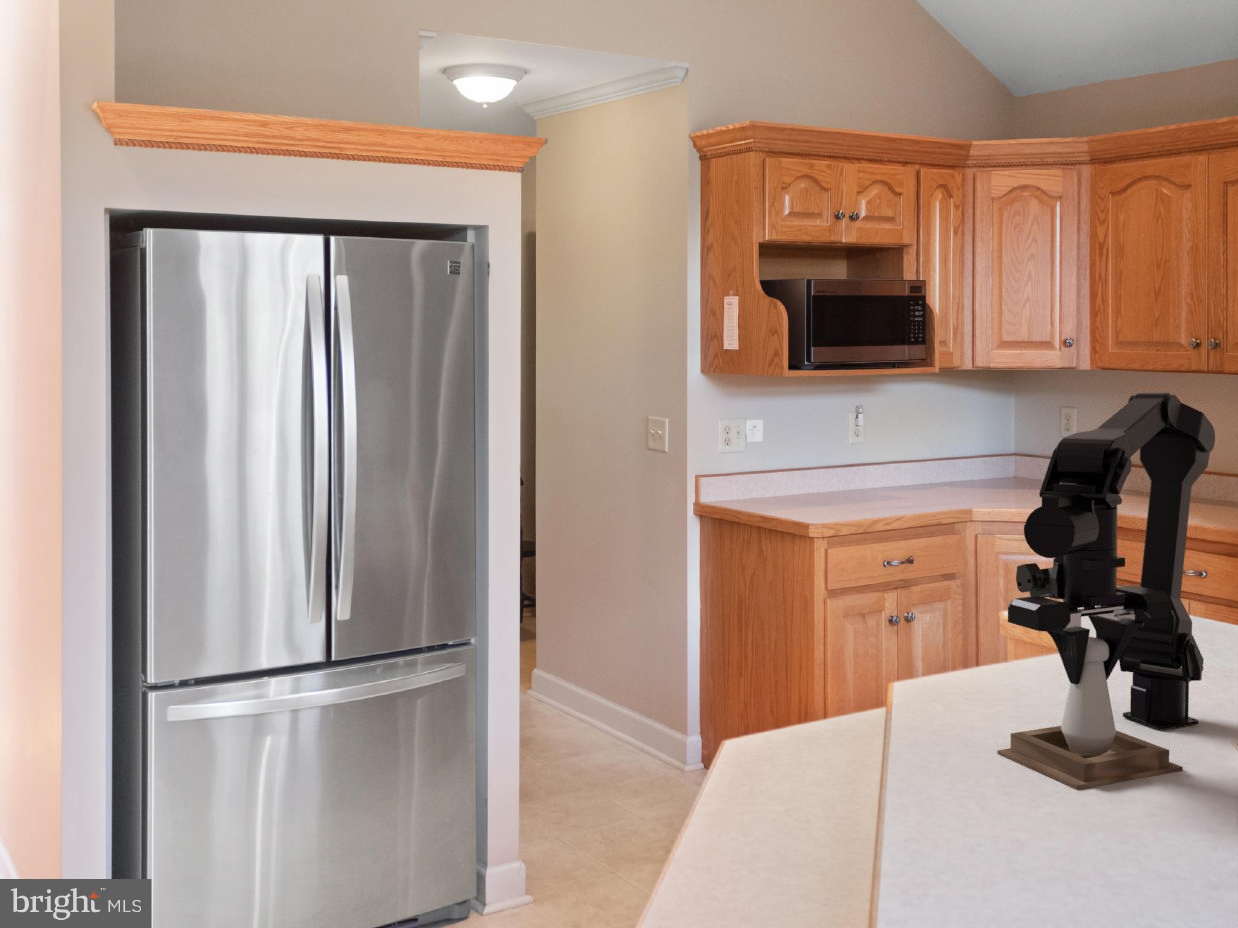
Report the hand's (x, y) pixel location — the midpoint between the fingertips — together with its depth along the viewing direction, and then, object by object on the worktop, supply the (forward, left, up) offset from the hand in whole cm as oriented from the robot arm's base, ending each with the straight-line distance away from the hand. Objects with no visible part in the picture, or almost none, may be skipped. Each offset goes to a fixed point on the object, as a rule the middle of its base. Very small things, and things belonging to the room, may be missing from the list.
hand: (1088, 681), depth 132 cm
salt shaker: (0, 0, -8) cm, 8 cm away
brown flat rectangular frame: (0, 0, -9) cm, 9 cm away
